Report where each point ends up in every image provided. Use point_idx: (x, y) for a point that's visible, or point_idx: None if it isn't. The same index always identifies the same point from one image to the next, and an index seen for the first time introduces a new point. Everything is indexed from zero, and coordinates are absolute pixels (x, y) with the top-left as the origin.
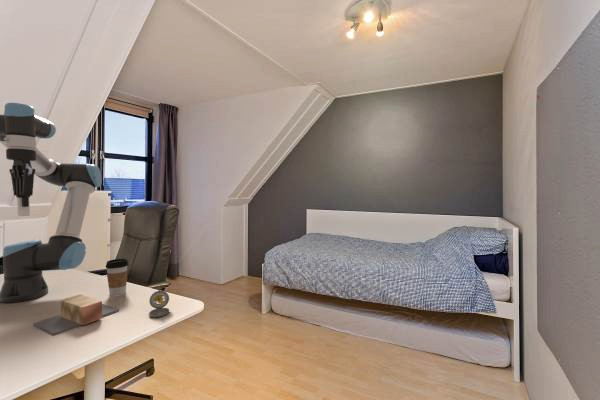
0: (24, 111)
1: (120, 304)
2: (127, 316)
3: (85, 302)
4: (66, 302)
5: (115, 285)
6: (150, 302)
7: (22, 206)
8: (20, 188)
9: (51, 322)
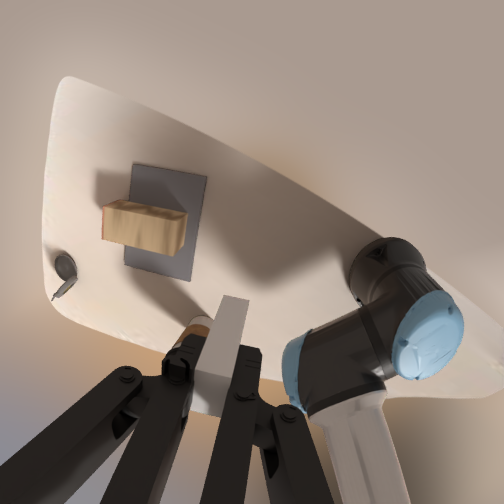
0: None
1: (149, 286)
2: (96, 249)
3: (120, 225)
4: (155, 216)
5: (187, 328)
6: (72, 276)
7: (202, 336)
8: (145, 425)
9: (178, 190)
